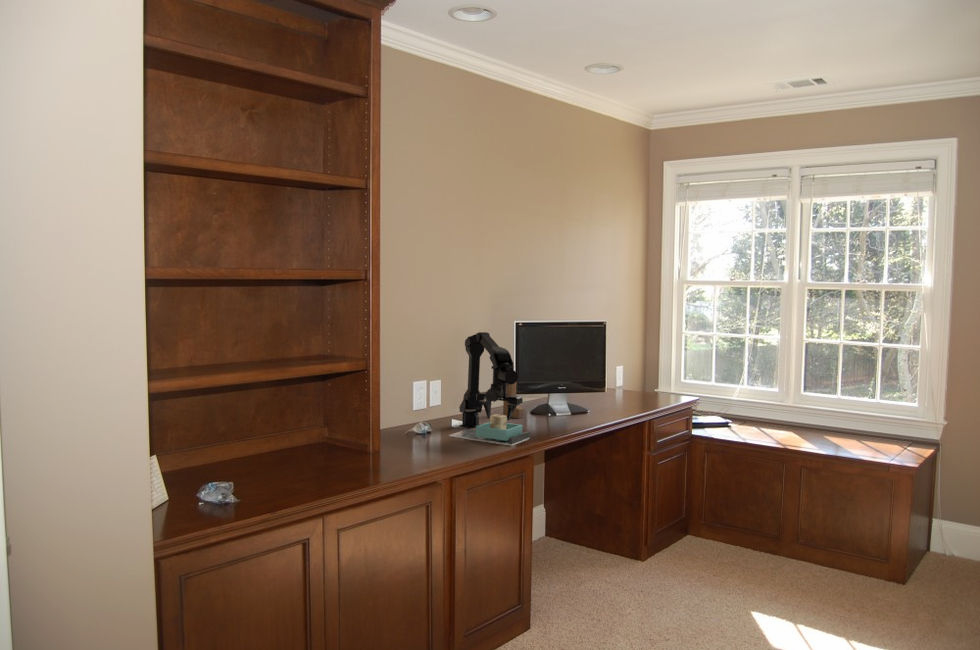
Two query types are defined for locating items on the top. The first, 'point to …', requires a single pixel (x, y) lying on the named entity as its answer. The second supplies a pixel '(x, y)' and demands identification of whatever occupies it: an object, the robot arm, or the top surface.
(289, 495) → the top surface
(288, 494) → the top surface
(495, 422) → the part
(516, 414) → the wooden block
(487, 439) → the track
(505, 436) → the teal storage bin
